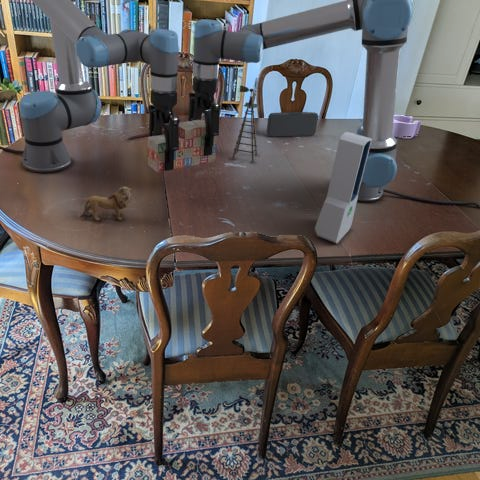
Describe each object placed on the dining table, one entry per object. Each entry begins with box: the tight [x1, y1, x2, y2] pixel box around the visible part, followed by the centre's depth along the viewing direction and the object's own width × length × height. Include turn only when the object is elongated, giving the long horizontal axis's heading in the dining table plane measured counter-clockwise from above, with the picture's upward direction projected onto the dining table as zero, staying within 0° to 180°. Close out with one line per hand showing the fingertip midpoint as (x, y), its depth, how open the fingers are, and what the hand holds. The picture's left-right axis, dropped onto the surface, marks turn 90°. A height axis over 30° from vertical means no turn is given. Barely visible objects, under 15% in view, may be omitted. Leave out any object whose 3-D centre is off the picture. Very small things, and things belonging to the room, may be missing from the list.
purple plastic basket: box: [392, 114, 422, 139], centre depth 219 cm, size 20×12×7 cm, turn 109°
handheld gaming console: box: [266, 111, 319, 137], centre depth 203 cm, size 23×3×10 cm, turn 108°
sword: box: [128, 130, 164, 140], centre depth 193 cm, size 31×3×1 cm, turn 126°
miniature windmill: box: [231, 77, 259, 163], centre depth 172 cm, size 9×8×30 cm
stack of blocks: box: [147, 119, 218, 173], centre depth 144 cm, size 21×6×12 cm, turn 127°
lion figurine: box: [79, 186, 133, 222], centre depth 132 cm, size 15×5×9 cm, turn 110°
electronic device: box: [314, 131, 372, 245], centre depth 130 cm, size 12×8×30 cm, turn 148°
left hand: (163, 165), depth 144 cm, fingers closed on stack of blocks, 6 cm apart
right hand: (201, 150), depth 150 cm, fingers closed on stack of blocks, 6 cm apart
